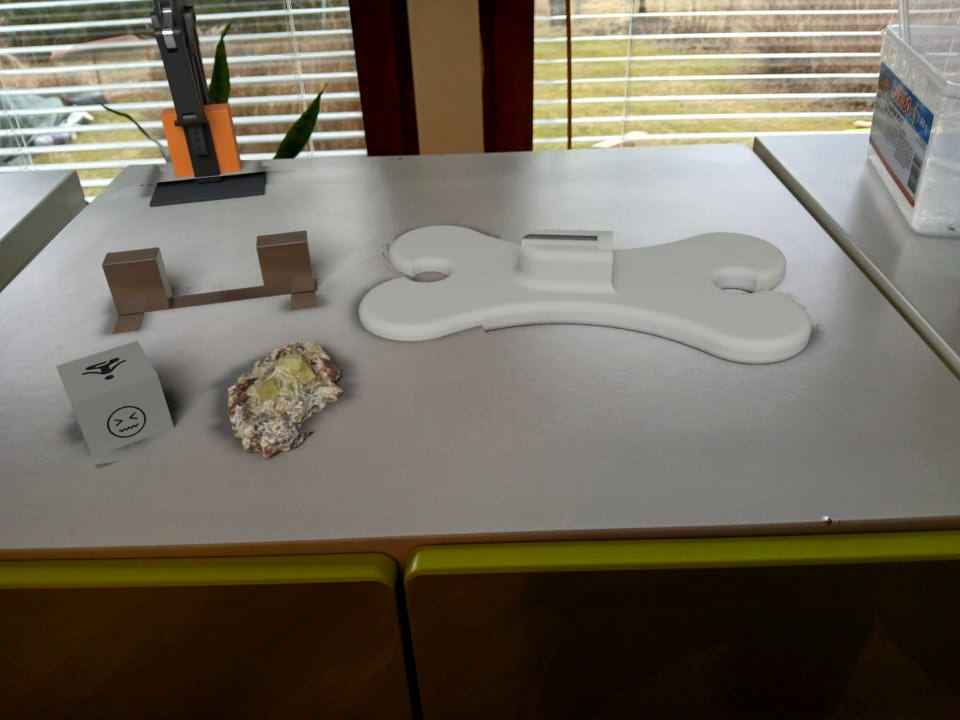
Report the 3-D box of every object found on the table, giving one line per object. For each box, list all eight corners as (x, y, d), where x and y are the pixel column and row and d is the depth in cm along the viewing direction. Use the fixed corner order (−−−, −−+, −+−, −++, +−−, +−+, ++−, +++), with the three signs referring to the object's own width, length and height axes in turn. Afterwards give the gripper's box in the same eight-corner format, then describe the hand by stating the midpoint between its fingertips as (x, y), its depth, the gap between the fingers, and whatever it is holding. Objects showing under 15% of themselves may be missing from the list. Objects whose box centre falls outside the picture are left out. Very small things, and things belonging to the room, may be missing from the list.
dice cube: (157, 402, 55) (137, 340, 52) (177, 438, 51) (157, 375, 48) (80, 428, 53) (56, 366, 50) (96, 469, 49) (71, 404, 46)
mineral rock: (236, 338, 57) (338, 313, 55) (264, 385, 59) (362, 362, 57) (181, 437, 48) (299, 411, 46) (215, 487, 50) (329, 464, 49)
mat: (163, 169, 95) (163, 166, 95) (266, 159, 97) (265, 156, 96) (150, 206, 85) (149, 203, 85) (264, 194, 87) (263, 191, 87)
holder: (402, 241, 75) (397, 191, 73) (773, 251, 71) (783, 198, 68) (347, 348, 60) (338, 290, 57) (819, 371, 55) (835, 308, 52)
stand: (129, 297, 68) (110, 238, 65) (317, 274, 70) (308, 216, 67) (112, 345, 61) (91, 282, 58) (321, 318, 64) (310, 256, 61)
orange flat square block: (179, 170, 91) (163, 108, 87) (241, 164, 92) (229, 102, 88) (176, 178, 88) (160, 115, 85) (240, 172, 90) (227, 109, 86)
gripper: (189, -49, 72) (240, 197, 84) (203, -66, 85) (246, 150, 97) (102, -44, 70) (167, 205, 83) (129, -62, 83) (183, 156, 96)
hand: (210, 175), depth 90 cm, fingers closed on orange flat square block, 3 cm apart
